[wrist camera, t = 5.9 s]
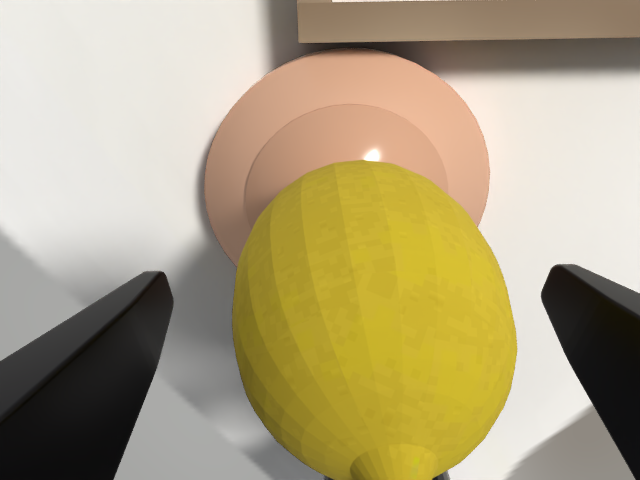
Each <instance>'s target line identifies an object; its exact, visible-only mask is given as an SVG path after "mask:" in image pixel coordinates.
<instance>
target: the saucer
mask: <svg viewBox="0 0 640 480" xmlns="http://www.w3.org/2000/svg"><path fill="white" fill-rule="evenodd" d="M355 160H370V161H377V162H385V163H392V164H395V165H398V166H400V167H403V168H405V169H407V170H410V171H412V172H415V173H417V174H419V175H422V176H424V177H426V178H427V179H429V180H431V181H432V182H433V183H434V184H436V185H437V186H438V187H439V188H441V189H442V190H443V191H444V192H445V193H447V194H448V195H449V196H450V197H452V198H453V199H454V200H455V201H456V202H457V203H459V204H460V205H461V206H462V207H463V208H464V210H465V211H466V212H467V213H468V214H469V216H470V217H471V219H472V220H473V222H474V223H475V225H476V226H477V227H478V225H479V223H480V221H481V218H482V215H483V212H484V209H485V206H486V202H487V197H488V191H489V179H490V168H489V158H488V152H487V148H486V144H485V140H484V136H483V134H482V132H481V129H480V127H479V125H478V122H477V120H476V118H475V117H474V115H473V114H472V112H471V110H470V109H469V107H468V106H467V104H466V103H465V102H464V100H463V99H462V98H461V97H460V96H459V95H458V94H457V93H456V92H455V90H454V89H453V88H452V87H451V86H449V85H448V84H447V83H446V82H444V81H443V80H442V79H441V78H439V77H438V76H437V75H435V74H434V73H432V72H430V71H428V70H427V69H425V68H423V67H421V66H420V65H418V64H416V63H414V62H412V61H410V60H408V59H405V58H402V57H400V56H397V55H394V54H392V53H388V52H383V51H378V50H374V49H366V48H349V47H348V48H337V49H327V50H322V51H318V52H314V53H310V54H306V55H303V56H301V57H298V58H296V59H294V60H291V61H289V62H286V63H284V64H283V65H281V66H279V67H278V68H276V69H274V70H272V71H271V72H269V73H267V74H266V75H265V76H264V77H262V78H261V79H260V80H259V81H257V82H256V83H255V84H254V85H252V86H251V87H250V89H249V90H248V91H247V92H246V93H245V94H244V95H243V96H242V97H241V98H240V99H239V100H238V101H237V103H236V104H235V105H234V106H233V107H232V109H231V110H230V112H229V113H228V115H227V116H226V117H225V119H224V120H223V122H222V123H221V125H220V127H219V129H218V131H217V133H216V136H215V138H214V140H213V142H212V145H211V149H210V152H209V155H208V158H207V164H206V170H205V183H204V194H205V202H206V209H207V213H208V217H209V220H210V224H211V227H212V229H213V231H214V233H215V236H216V238H217V240H218V242H219V244H220V245H221V247H222V249H223V250H224V252H225V253H226V255H227V256H228V257H229V259H230V260H231V261H232V262H233V264H234V265H235V266H236V267H238V262H239V259H240V256H241V253H242V250H243V248H244V246H245V244H246V242H247V240H248V237H249V235H250V233H251V231H252V229H253V226H254V224H255V222H256V220H257V219H258V217H259V216H260V214H261V213H262V212H263V211H264V210H265V208H266V207H267V206H268V205H269V204H270V203H271V202H272V200H273V199H274V198H275V197H276V196H277V195H278V194H279V192H280V191H281V190H283V189H284V188H285V187H287V186H288V185H289V184H291V183H292V182H294V181H295V180H297V179H298V178H300V177H301V176H303V175H304V174H306V173H307V172H310V171H313V170H315V169H318V168H321V167H324V166H326V165H329V164H332V163H336V162H345V161H355Z"/></svg>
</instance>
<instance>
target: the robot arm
mask: <svg viewBox="0 0 640 480" xmlns="http://www.w3.org/2000/svg"><path fill="white" fill-rule="evenodd" d="M541 299H542V303H543V305H544V307H545V310H546V312H547V314H548V316H549V319H550V321H551V323H552V326H553V328H554V330H555V332H556V335H557V337H558V339H559V342H560V344H561V346H562V348H563V351H564V353H565V355H566V357H567V359H568V361H569V363H570V365H571V367H572V368H573V370H574V372H575V374H576V376H577V377H578V379H579V381H580V383H581V384H582V386H583V388H584V390H585V391H586V393H587V395H588V397H589V399H590V400H591V402H592V404H593V406H594V407H595V409H596V410H597V413H598V414H599V416H600V418H601V420H602V421H603V423H604V425H605V427H606V428H607V430H608V432H609V434H610V435H611V437H612V439H613V441H614V442H615V444H616V446H617V447H618V450H619V451H620V453H621V455H622V457H623V458H624V460H625V462H626V464H627V465H628V467H629V469H630V471H631V472H632V474H633V476H634V478H635V479H636V480H640V293H637V292H635V291H633V290H631V289H629V288H626V287H624V286H622V285H620V284H617V283H615V282H613V281H611V280H609V279H606V278H604V277H602V276H600V275H598V274H595V273H593V272H591V271H589V270H586V269H584V268H582V267H580V266H578V265H575V264H557V265H554V266H553V267H552V268H551V270H550V272H549V275H548V277H547V280H546V282H545V284H544V287H543V289H542V292H541ZM173 304H174V301H173V296H172V293H171V289H170V286H169V283H168V280H167V277H166V275H165V273H164V272H162V271H146V272H143V273H141V274H140V275H138V276H136V277H135V278H133V279H132V280H130V281H128V282H127V283H125V284H124V285H122V286H120V287H119V288H117V289H116V290H114V291H112V292H111V293H109V294H108V295H106V296H104V297H103V298H101V299H100V300H98V301H96V302H95V303H93V304H92V305H90V306H88V307H87V308H85V309H83V310H82V311H80V312H79V313H77V314H76V315H74V316H72V317H71V318H69V319H67V320H66V321H64V322H63V323H61V324H60V325H58V326H56V327H55V328H53V329H51V330H50V331H48V332H47V333H45V334H43V335H42V336H40V337H39V338H37V339H35V340H34V341H32V342H30V343H29V344H27V345H26V346H24V347H22V348H21V349H19V350H18V351H16V352H14V353H13V354H11V355H10V356H8V357H7V358H5V359H3V360H2V361H0V480H113V479H114V477H115V474H116V472H117V469H118V467H119V464H120V462H121V459H122V456H123V454H124V451H125V449H126V446H127V444H128V441H129V438H130V436H131V433H132V431H133V428H134V426H135V423H136V420H137V418H138V415H139V413H140V410H141V408H142V405H143V402H144V400H145V397H146V395H147V392H148V389H149V387H150V385H151V382H152V379H153V377H154V374H155V371H156V369H157V366H158V362H159V359H160V355H161V352H162V348H163V344H164V340H165V336H166V333H167V329H168V325H169V321H170V317H171V314H172V310H173ZM324 480H334V479H332V478H329V477H327V476H325V475H324ZM432 480H450V478H449V474H448V471H445V472H444V473H442V474H440V475H438V476H436V477H434V478H432Z"/></svg>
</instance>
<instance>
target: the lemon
mask: <svg viewBox="0 0 640 480" xmlns="http://www.w3.org/2000/svg"><path fill="white" fill-rule="evenodd" d="M232 329H233V341H234V347H235V353H236V359H237V363H238V367H239V371H240V375H241V379H242V382H243V386H244V389H245V392H246V395H247V397H248V399H249V401H250V403H251V405H252V407H253V409H254V411H255V412H256V414H257V415H258V417H259V418H260V420H261V421H262V423H263V424H264V426H265V427H266V428H267V430H268V431H269V432H270V433H271V435H272V436H273V437H274V438H275V439H276V441H277V442H278V443H279V444H281V445H282V446H283V447H284V448H285V449H286V450H288V451H289V452H290V453H291V454H292V455H294V456H295V457H296V458H297V459H299V460H300V461H301V462H303V463H304V464H305V465H307V466H309V467H310V468H312V469H314V470H315V471H317V472H319V473H321V474H323V475H325V476H327V477H329V478H332V479H334V480H432V478H434V477H436V476H438V475H440V474H442V473H444V472H445V471H447V470H449V469H450V468H452V467H454V466H455V465H457V464H459V463H460V462H461V461H462V460H464V459H465V458H466V457H467V456H468V455H469V454H470V453H471V452H472V451H473V450H474V449H475V448H476V447H477V446H478V445H479V444H480V443H481V442H482V441H483V440H484V438H485V437H486V435H487V434H488V432H489V431H490V429H491V427H492V426H493V424H494V423H495V421H496V419H497V418H498V416H499V414H500V413H501V411H502V409H503V408H504V405H505V403H506V400H507V397H508V395H509V392H510V389H511V384H512V379H513V374H514V370H515V362H516V355H517V340H516V329H515V325H514V320H513V315H512V310H511V306H510V301H509V296H508V291H507V288H506V284H505V281H504V278H503V274H502V272H501V269H500V267H499V264H498V262H497V260H496V258H495V256H494V254H493V252H492V250H491V248H490V247H489V245H488V243H487V242H486V240H485V239H484V237H483V236H482V234H481V232H480V231H479V229H478V228H477V226H476V225H475V223H474V222H473V220H472V219H471V217H470V216H469V214H468V213H467V212H466V211H465V210H464V208H463V207H462V206H461V205H460V204H459V203H457V202H456V201H455V200H454V199H453V198H452V197H450V196H449V195H448V194H447V193H445V192H444V191H443V190H442V189H441V188H439V187H438V186H437V185H436V184H434V183H433V182H432V181H431V180H429V179H427V178H426V177H424V176H422V175H419V174H417V173H415V172H412V171H410V170H407V169H405V168H403V167H400V166H398V165H395V164H392V163H385V162H377V161H370V160H355V161H345V162H336V163H332V164H329V165H326V166H324V167H321V168H318V169H315V170H313V171H310V172H307V173H306V174H304V175H303V176H301V177H300V178H298V179H297V180H295V181H294V182H292V183H291V184H289V185H288V186H287V187H285V188H284V189H283V190H281V191H280V192H279V194H278V195H277V196H276V197H275V198H274V199H273V200H272V202H271V203H270V204H269V205H268V206H267V207H266V208H265V210H264V211H263V212H262V213H261V214H260V216H259V217H258V219H257V220H256V222H255V224H254V226H253V229H252V231H251V233H250V235H249V237H248V240H247V242H246V244H245V246H244V248H243V250H242V253H241V256H240V259H239V262H238V267H237V271H236V280H235V289H234V298H233V309H232Z"/></svg>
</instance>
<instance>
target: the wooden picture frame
mask: <svg viewBox="0 0 640 480" xmlns="http://www.w3.org/2000/svg"><path fill="white" fill-rule="evenodd" d="M297 18H298V42H299V43H331V42H391V41H451V40H512V39H572V38H632V37H640V0H452V1H392V2H332V0H297Z"/></svg>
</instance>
